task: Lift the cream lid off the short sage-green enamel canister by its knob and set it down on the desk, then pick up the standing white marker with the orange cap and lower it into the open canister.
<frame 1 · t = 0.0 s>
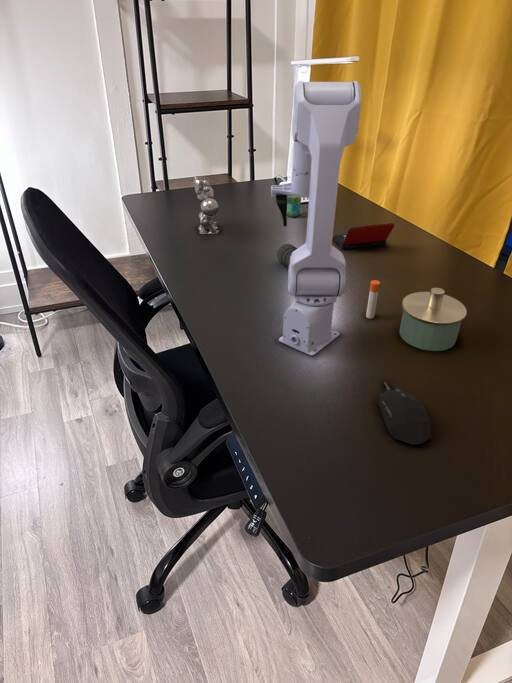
hand: (301, 224, 117), 11 cm above the table, tool pointing down, fingers open, 7 cm apart
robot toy: (208, 233, 141), on the table
canister lid: (433, 308, 94), point 6 cm above the table, touching canister
marker: (370, 316, 104), on the table
canister: (427, 335, 98), on the table
flashlight: (300, 275, 119), on the table
handheld console: (360, 245, 134), on the table
gaming mouse: (399, 414, 80), on the table
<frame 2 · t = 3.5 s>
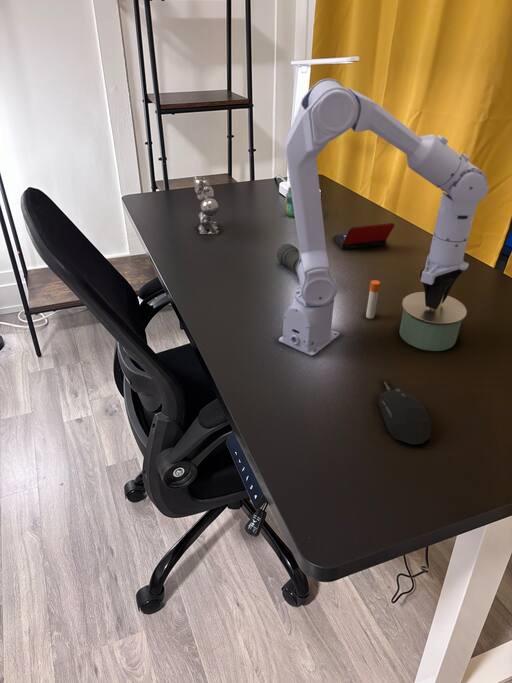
hand: (434, 304, 94), 7 cm above the table, tool pointing down, fingers closed on canister lid, 2 cm apart
canister lid: (433, 308, 94), point 6 cm above the table, touching canister, gripper
everything else where it was.
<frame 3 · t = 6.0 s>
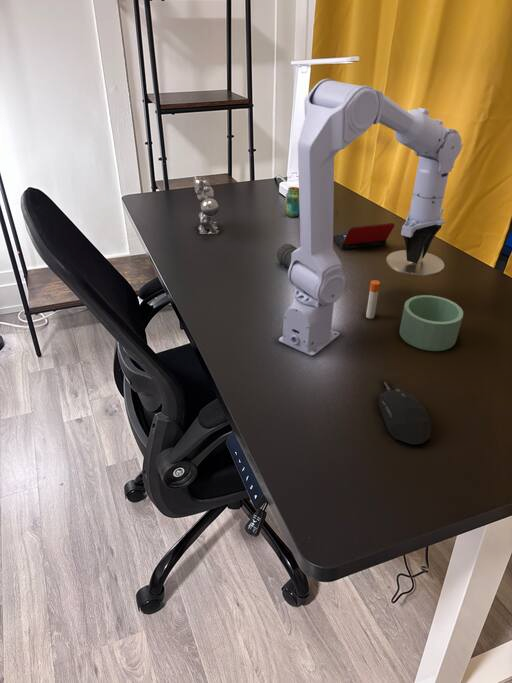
hand: (415, 259, 103), 10 cm above the table, tool pointing down, fingers closed on canister lid, 2 cm apart
canister lid: (414, 263, 104), point 9 cm above the table, touching gripper
everything else where it was.
when the fingers open (2 cm above the table, at t = 8.2 s): canister lid stays where it is, point 1 cm above the table.
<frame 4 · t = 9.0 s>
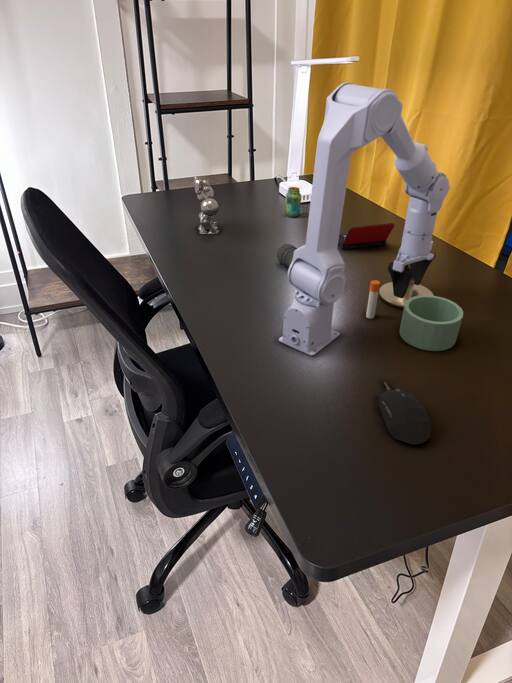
hand: (406, 289, 109), 2 cm above the table, tool pointing down, fingers open, 7 cm apart
canister lid: (405, 295, 110), point 1 cm above the table
everything else where it was.
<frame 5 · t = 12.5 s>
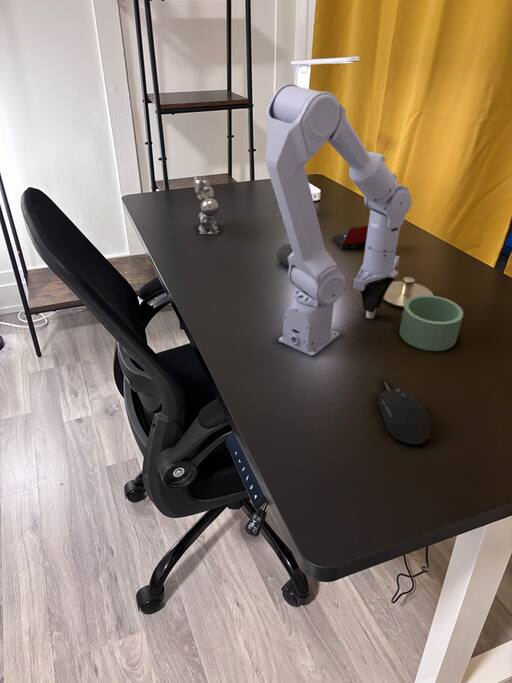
hand: (371, 308, 102), 2 cm above the table, tool pointing down, fingers closed on marker, 2 cm apart
marker: (370, 316, 104), on the table, touching gripper
everything else where it was.
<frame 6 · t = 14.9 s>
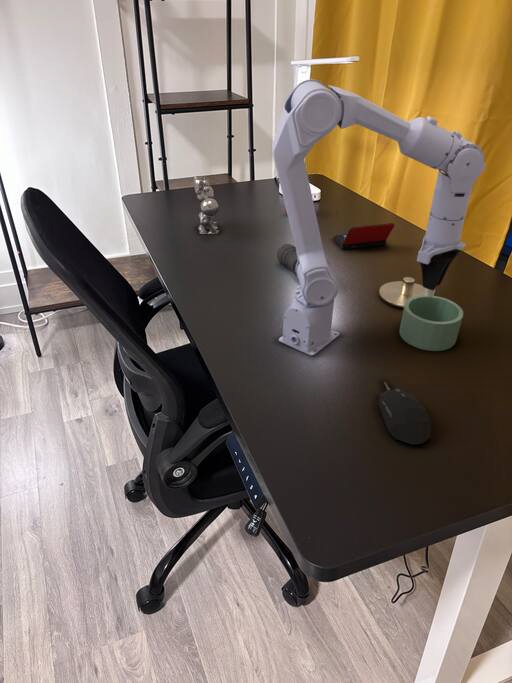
hand: (431, 285, 93), 10 cm above the table, tool pointing down, fingers closed on marker
marker: (429, 295, 94), point 8 cm above the table, touching gripper
everything else where it was.
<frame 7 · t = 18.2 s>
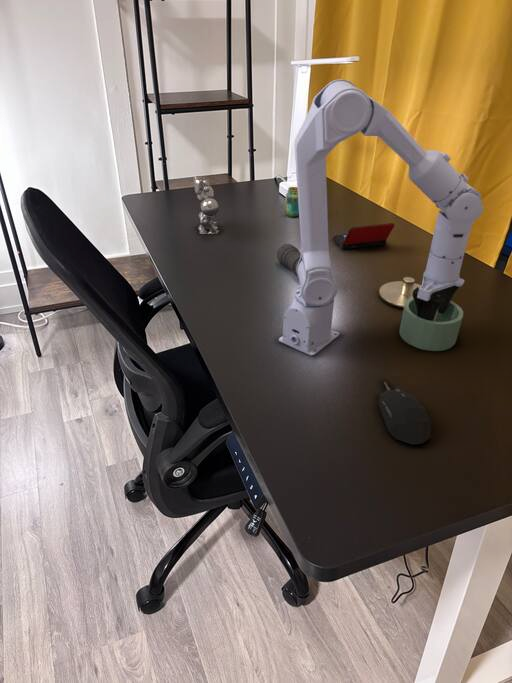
hand: (431, 318, 96), 4 cm above the table, tool pointing down, fingers open, 6 cm apart
marker: (427, 333, 98), resting on canister
everything else where it was.
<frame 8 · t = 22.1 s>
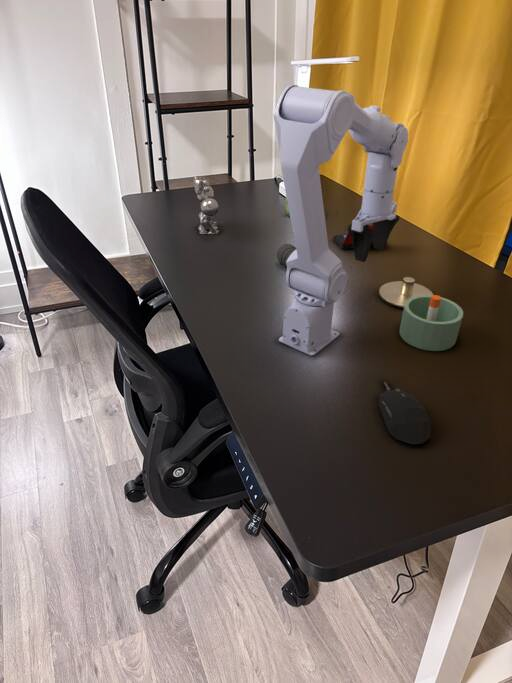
hand: (369, 254, 104), 10 cm above the table, tool pointing down, fingers open, 7 cm apart
nothing on the table moved.
at the end: canister lid inside the target area (0.0 cm from its centre), point 0.6 cm above the table; marker inside the target area in the canister (0.0 cm from its centre), point 0.5 cm above the canister's base; the gripper is holding nothing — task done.
